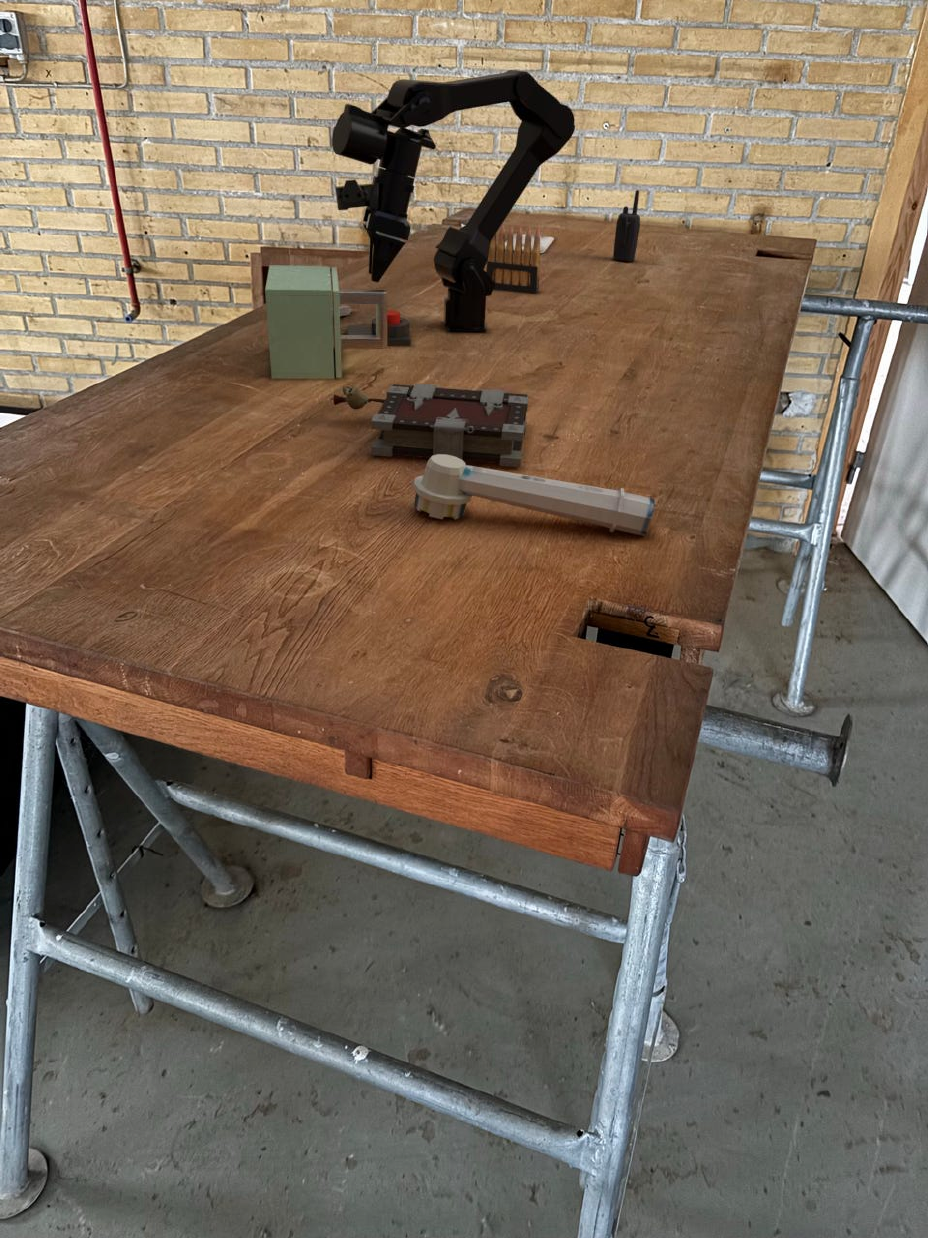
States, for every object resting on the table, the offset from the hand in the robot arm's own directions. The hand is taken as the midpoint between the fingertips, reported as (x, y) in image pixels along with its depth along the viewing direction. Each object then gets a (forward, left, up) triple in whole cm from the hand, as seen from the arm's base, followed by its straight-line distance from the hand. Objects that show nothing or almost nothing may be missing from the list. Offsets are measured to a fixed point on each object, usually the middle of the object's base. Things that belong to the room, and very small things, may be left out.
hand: (373, 277), depth 145 cm
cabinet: (+11, +13, -10) cm, 20 cm away
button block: (-1, 0, -10) cm, 10 cm away
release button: (-3, 0, -7) cm, 8 cm away
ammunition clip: (-29, -34, -10) cm, 46 cm away
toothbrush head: (-13, +66, -10) cm, 68 cm away
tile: (-43, -67, -9) cm, 80 cm away
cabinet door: (+3, +13, -10) cm, 16 cm away
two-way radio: (-60, -62, -10) cm, 87 cm away
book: (-4, +43, -10) cm, 45 cm away
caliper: (+7, -7, -10) cm, 14 cm away
